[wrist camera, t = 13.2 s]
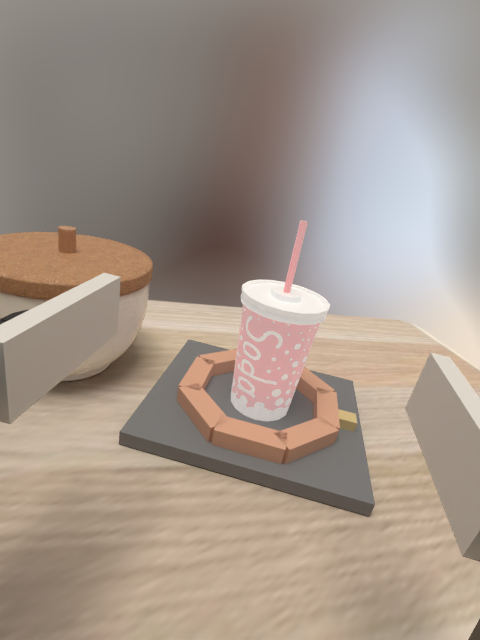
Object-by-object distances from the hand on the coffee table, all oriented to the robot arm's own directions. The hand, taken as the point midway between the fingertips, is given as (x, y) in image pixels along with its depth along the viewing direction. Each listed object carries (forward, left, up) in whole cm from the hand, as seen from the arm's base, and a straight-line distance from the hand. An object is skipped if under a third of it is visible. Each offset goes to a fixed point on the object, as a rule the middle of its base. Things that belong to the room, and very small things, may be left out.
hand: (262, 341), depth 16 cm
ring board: (0, +10, -11) cm, 15 cm away
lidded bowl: (-16, +11, -11) cm, 22 cm away
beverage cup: (+1, +10, -10) cm, 15 cm away
